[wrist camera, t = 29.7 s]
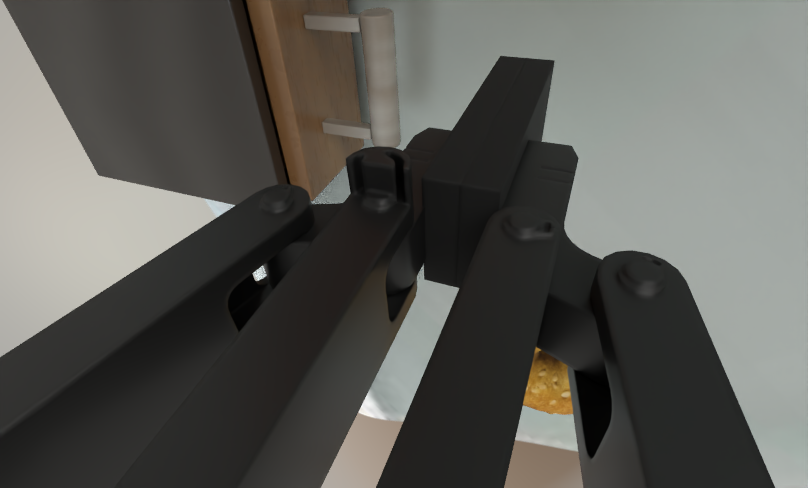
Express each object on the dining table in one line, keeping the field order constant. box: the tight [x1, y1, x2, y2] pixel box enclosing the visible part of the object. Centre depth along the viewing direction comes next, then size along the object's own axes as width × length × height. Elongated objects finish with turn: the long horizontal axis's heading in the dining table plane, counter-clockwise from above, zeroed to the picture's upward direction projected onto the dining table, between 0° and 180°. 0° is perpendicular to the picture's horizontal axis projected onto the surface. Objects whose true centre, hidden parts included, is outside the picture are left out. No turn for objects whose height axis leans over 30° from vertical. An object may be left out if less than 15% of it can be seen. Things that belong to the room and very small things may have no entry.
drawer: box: [242, 0, 401, 201], centre depth 24 cm, size 17×11×6 cm
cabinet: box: [3, 0, 290, 205], centre depth 25 cm, size 14×13×8 cm
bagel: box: [523, 347, 573, 415], centre depth 32 cm, size 10×11×5 cm
